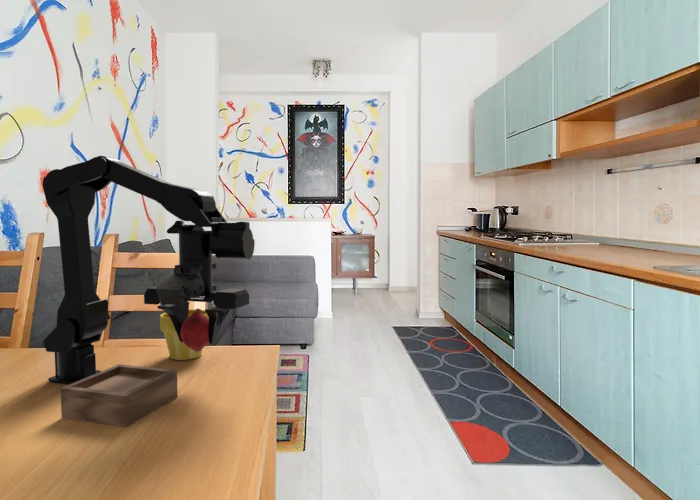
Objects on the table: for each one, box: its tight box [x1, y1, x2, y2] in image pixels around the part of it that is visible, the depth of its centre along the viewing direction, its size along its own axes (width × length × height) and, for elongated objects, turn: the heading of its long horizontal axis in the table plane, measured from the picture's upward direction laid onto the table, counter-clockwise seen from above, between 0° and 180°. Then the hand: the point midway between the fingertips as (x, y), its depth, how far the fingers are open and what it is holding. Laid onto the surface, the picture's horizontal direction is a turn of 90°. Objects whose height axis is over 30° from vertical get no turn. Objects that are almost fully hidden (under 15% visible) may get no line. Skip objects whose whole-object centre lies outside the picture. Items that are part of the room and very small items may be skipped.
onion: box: [180, 307, 210, 352], centre depth 84 cm, size 6×6×8 cm
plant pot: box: [159, 308, 209, 361], centre depth 102 cm, size 10×10×10 cm
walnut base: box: [60, 363, 178, 428], centre depth 74 cm, size 12×12×5 cm
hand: (197, 342), depth 84 cm, fingers closed on onion, 6 cm apart
